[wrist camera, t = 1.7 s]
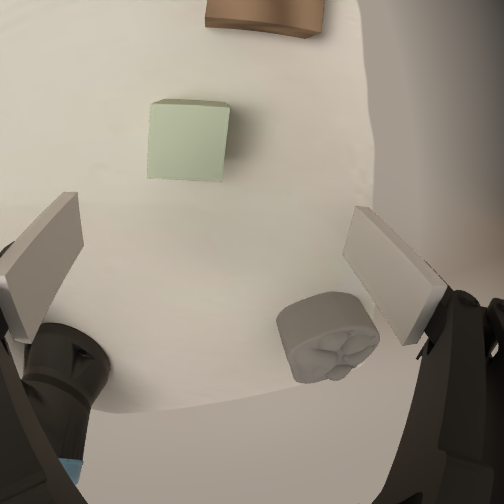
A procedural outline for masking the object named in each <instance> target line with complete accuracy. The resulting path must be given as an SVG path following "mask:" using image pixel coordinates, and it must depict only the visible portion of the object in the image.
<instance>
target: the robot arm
mask: <svg viewBox="0 0 504 504" xmlns="http://www.w3.org/2000/svg"><path fill="white" fill-rule="evenodd" d="M83 246H84V242H83V235H82V228H81V220H80V212H79V202H78V192H63V193H62V194H61V195H60V196H59V197H58V198H57V199H56V200H55V201H54V202H53V203H52V204H51V205H49V206H48V207H47V208H46V209H45V210H44V211H43V212H42V213H41V214H40V215H39V216H38V217H37V218H36V219H35V220H34V221H33V222H32V224H31V225H30V226H29V227H28V228H27V229H26V230H25V231H24V232H23V233H22V234H21V235H20V236H19V237H18V238H17V240H16V241H14V242H12V243H11V244H9V245H8V246H6V247H5V248H4V249H3V250H2V251H1V252H0V504H88V503H87V502H86V500H85V499H84V498H83V497H82V495H81V493H80V492H79V490H78V489H77V488H76V486H75V485H76V484H77V483H78V481H79V477H80V472H81V468H82V465H83V453H84V446H85V439H86V433H87V426H88V420H89V414H90V410H91V406H92V404H93V403H94V401H95V400H96V398H97V397H98V395H99V394H100V392H101V391H102V389H103V388H104V386H105V384H106V382H107V380H108V375H109V371H110V363H109V360H108V358H107V356H106V354H105V352H104V351H103V350H102V348H101V347H100V346H99V345H98V344H97V343H96V342H95V341H93V340H92V339H91V338H89V337H88V336H87V335H85V334H83V333H82V332H80V331H78V330H76V329H73V328H71V327H68V326H65V325H61V324H56V323H44V324H41V323H42V320H43V318H44V316H45V314H46V312H47V310H48V308H49V307H50V305H51V303H52V301H53V299H54V297H55V295H56V293H57V291H58V289H59V288H60V286H61V284H62V282H63V280H64V279H65V277H66V275H67V273H68V271H69V270H70V268H71V266H72V265H73V263H74V261H75V259H76V258H77V256H78V254H79V253H80V251H81V249H82V248H83ZM342 255H343V256H344V258H345V259H346V260H347V262H348V263H349V265H350V266H351V268H352V269H353V270H354V272H355V273H356V275H357V276H358V278H359V279H360V281H361V282H362V284H363V285H364V287H365V288H366V290H367V291H368V293H369V294H370V296H371V297H372V299H373V300H374V302H375V303H376V305H377V306H378V308H379V309H380V311H381V312H382V314H383V316H384V317H385V319H386V320H387V322H388V323H389V325H390V326H391V328H392V330H393V331H394V333H395V334H396V336H397V338H398V339H399V341H400V342H401V344H402V346H404V345H410V344H417V343H418V341H419V339H420V338H421V336H422V334H423V333H424V332H425V333H426V335H427V336H428V337H429V338H428V339H427V341H426V343H425V344H424V346H423V348H422V349H421V351H420V353H419V354H418V356H417V358H416V359H417V360H418V359H419V358H420V356H422V360H421V365H420V370H419V375H418V379H417V383H416V387H415V392H414V396H413V400H412V403H411V407H410V411H409V414H408V418H407V421H406V425H405V428H404V431H403V435H402V438H401V441H400V444H399V447H398V450H397V453H396V456H395V459H394V461H393V464H392V467H391V470H390V472H389V475H388V478H387V480H386V483H385V485H384V487H383V489H382V491H381V493H380V494H379V495H378V496H377V498H376V499H375V500H374V501H373V502H372V504H504V300H502V299H499V298H493V299H492V301H491V302H490V304H489V306H488V308H486V307H481V306H480V304H479V302H478V300H476V298H475V297H473V296H472V295H471V294H469V293H467V292H465V291H462V290H456V291H453V290H452V289H451V288H450V286H449V285H448V284H447V283H446V282H445V281H444V280H443V279H442V278H441V277H440V276H439V275H437V273H436V271H435V270H434V269H432V267H431V266H430V265H429V264H428V263H427V262H426V261H425V260H423V259H422V258H421V257H420V256H419V255H418V254H417V253H416V252H415V251H414V250H413V249H412V248H411V247H410V246H409V245H408V244H407V243H406V242H405V241H404V240H403V239H402V238H401V237H400V236H399V235H398V234H397V233H396V232H395V231H394V230H392V228H390V227H389V226H388V225H387V224H386V223H385V222H384V221H383V220H382V219H381V218H380V217H379V216H378V215H376V214H375V213H374V212H373V211H372V210H371V209H370V208H369V207H360V206H356V207H355V211H354V215H353V218H352V222H351V226H350V230H349V233H348V237H347V240H346V244H345V247H344V251H343V254H342ZM8 329H9V331H10V333H11V335H12V337H13V339H14V341H16V342H22V343H25V351H24V372H23V378H22V380H21V379H20V377H19V375H18V372H17V369H16V366H15V364H14V361H13V358H12V355H11V352H10V349H9V346H8V343H7V341H6V339H5V337H4V336H5V334H6V332H7V330H8ZM497 343H498V345H499V347H498V352H497V353H496V354H495V356H494V357H492V355H491V352H492V351H493V349H494V348H495V346H496V345H497Z"/></svg>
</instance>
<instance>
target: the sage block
mask: <svg viewBox="0 0 504 504" xmlns="http://www.w3.org/2000/svg"><path fill="white" fill-rule="evenodd" d="M229 113H230V107H229V106H228V105H227V104H226V103H225V102H214V101H199V100H179V99H163V100H160V101H157V102H154V103H152V104H151V105H150V120H149V137H148V164H147V179H175V180H196V181H214V182H222V175H223V166H224V156H225V147H226V139H227V130H228V122H229Z"/></svg>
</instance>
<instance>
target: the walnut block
mask: <svg viewBox="0 0 504 504" xmlns="http://www.w3.org/2000/svg"><path fill="white" fill-rule="evenodd" d="M323 10H324V0H207V6H206V14H205V27H215V28H230V29H242V30H251V31H260V32H268V33H275V34H281V35H287V36H293V37H299V38H304V39H306V38H308V37H311V36H313V35H316V34H318V33H321V29H322V20H323Z"/></svg>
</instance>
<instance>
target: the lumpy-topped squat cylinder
mask: <svg viewBox="0 0 504 504" xmlns="http://www.w3.org/2000/svg"><path fill="white" fill-rule="evenodd" d="M276 323H277V326H278V330H279V333H280V337H281V340H282V344H283V347H284V350H285V353H286V357H287V360H288V362H289V364H290V368H291V371H292V374H293V378H294V379H295V381H297V382H299V383H315V382H319V381H322V380H325V379H330V380H333V381H335V380H340V379H343V378H344V377H345V376H346V375H347V374H348V373H349V372H350V371H351V369H352V368H355V367H356V366H357V365H358V364H360V363H362V362H363V361H364V360H365V359H366V358H367V357H368V356H369V355H370V354H371V353H372V352H373V351H374V349H375V348H376V347H377V345H378V343H379V341H380V336H379V332H378V330H377V328H376V327H375V325H374V323H373V322H372V320H371V318H370V317H369V315H368V313H367V312H366V310H365V308H364V307H363V305H362V304H361V302H360V300H359V299H358V298H356V297H355V296H353V295H351V294H348V293H343V292H326V293H322V294H318V295H315V296H312V297H309V298H306V299H304V300H301V301H299V302H296V303H294V304H292V305H290V306H288V307H286V308H285V309H283V310H282V311H281V312H280V314H279V315H278V317H277V319H276Z"/></svg>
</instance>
